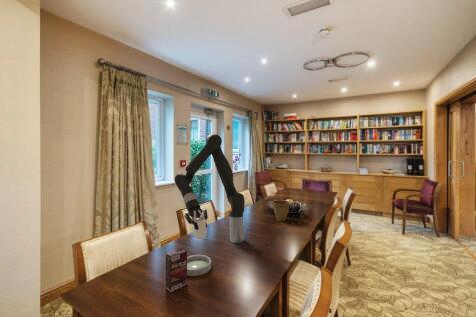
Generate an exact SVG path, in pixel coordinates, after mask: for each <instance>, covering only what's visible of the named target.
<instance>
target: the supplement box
mask: <svg viewBox="0 0 476 317" xmlns="http://www.w3.org/2000/svg"><path fill="white" fill-rule="evenodd" d="M187 257H188V251H187V250H186V249H184V248H180V249H176V250H173V251H170V252H167V253H165V288H166V290H168V291H169V292H170V293H173V292H174V291H175V290H178V289H180V288H183V287H184V286H186V285H188V275H187Z"/></svg>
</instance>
